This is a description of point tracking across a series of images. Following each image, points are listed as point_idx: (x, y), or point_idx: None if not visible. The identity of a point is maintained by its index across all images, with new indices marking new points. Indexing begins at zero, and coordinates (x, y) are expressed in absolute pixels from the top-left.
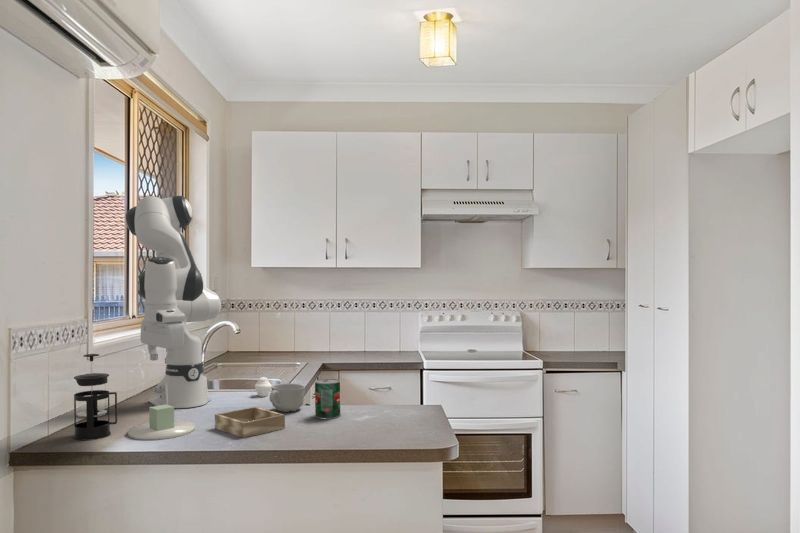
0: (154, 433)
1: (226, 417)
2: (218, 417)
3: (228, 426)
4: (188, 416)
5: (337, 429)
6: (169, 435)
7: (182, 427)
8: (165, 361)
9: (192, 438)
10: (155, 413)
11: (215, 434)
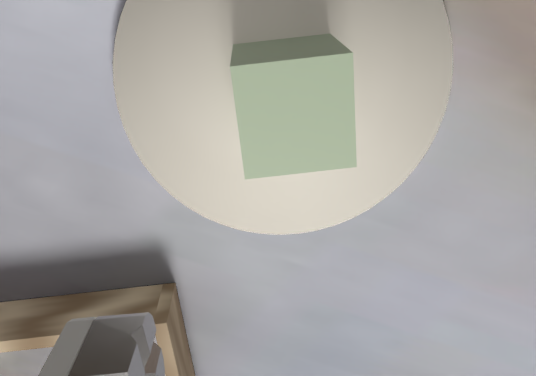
0: (188, 13)
1: None
2: None
3: (51, 312)
4: (476, 273)
5: None
6: (114, 68)
7: (222, 169)
8: (114, 332)
9: (51, 150)
10: (254, 58)
11: (65, 248)
